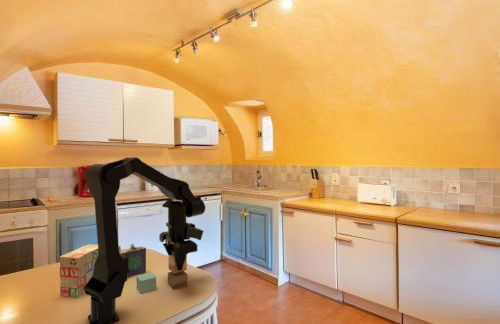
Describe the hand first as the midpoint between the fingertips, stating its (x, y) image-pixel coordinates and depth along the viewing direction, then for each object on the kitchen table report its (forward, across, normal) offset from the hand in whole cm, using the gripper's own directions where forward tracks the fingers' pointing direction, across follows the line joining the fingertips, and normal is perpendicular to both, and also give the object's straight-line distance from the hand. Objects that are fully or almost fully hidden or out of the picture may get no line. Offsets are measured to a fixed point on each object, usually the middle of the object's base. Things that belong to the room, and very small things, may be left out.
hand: (177, 267), depth 96 cm
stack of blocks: (+6, +18, +22) cm, 29 cm away
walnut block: (+6, 0, 0) cm, 6 cm away
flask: (+6, +17, +10) cm, 21 cm away
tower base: (+6, +3, +9) cm, 11 cm away
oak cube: (+1, 0, 0) cm, 1 cm away
